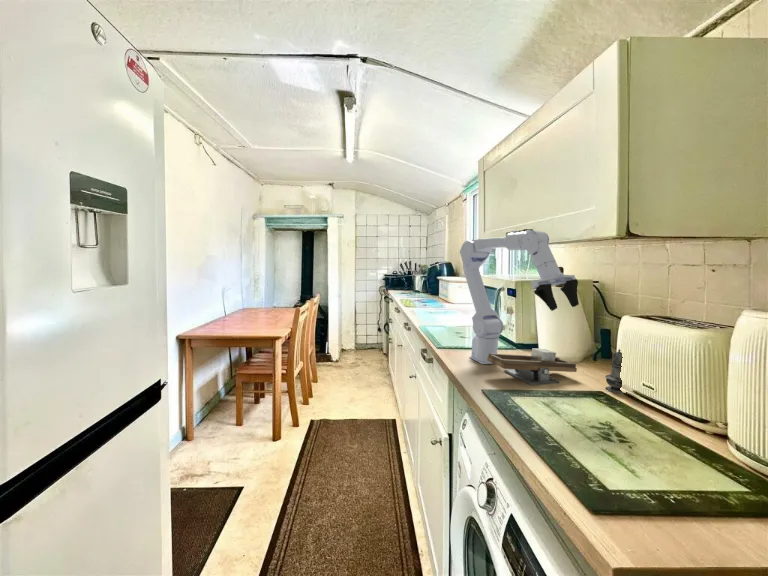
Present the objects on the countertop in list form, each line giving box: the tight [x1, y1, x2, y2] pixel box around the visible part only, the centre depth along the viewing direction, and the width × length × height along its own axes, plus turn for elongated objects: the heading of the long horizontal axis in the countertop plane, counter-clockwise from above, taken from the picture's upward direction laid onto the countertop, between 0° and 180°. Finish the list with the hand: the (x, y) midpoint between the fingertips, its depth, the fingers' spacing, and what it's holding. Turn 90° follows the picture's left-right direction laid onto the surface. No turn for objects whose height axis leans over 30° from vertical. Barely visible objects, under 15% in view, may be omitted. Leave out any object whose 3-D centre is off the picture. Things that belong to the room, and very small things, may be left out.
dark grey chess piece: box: [604, 348, 624, 395], centre depth 103 cm, size 6×6×12 cm
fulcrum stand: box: [504, 368, 560, 386], centre depth 113 cm, size 14×10×4 cm
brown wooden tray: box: [487, 353, 578, 373], centre depth 113 cm, size 9×26×2 cm, turn 106°
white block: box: [530, 347, 557, 362], centre depth 114 cm, size 5×5×4 cm
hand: (565, 307), depth 104 cm, fingers open, 7 cm apart
